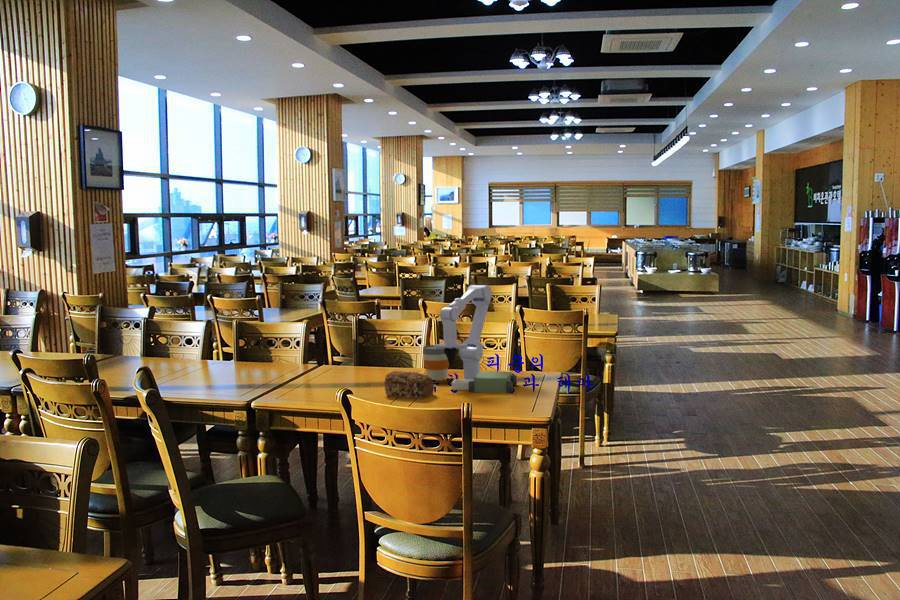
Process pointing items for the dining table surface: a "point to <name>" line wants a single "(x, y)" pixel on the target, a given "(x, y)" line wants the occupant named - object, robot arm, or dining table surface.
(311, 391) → the dining table surface
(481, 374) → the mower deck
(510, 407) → the dining table surface
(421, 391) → the bread
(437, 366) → the reusable coffee cup
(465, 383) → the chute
